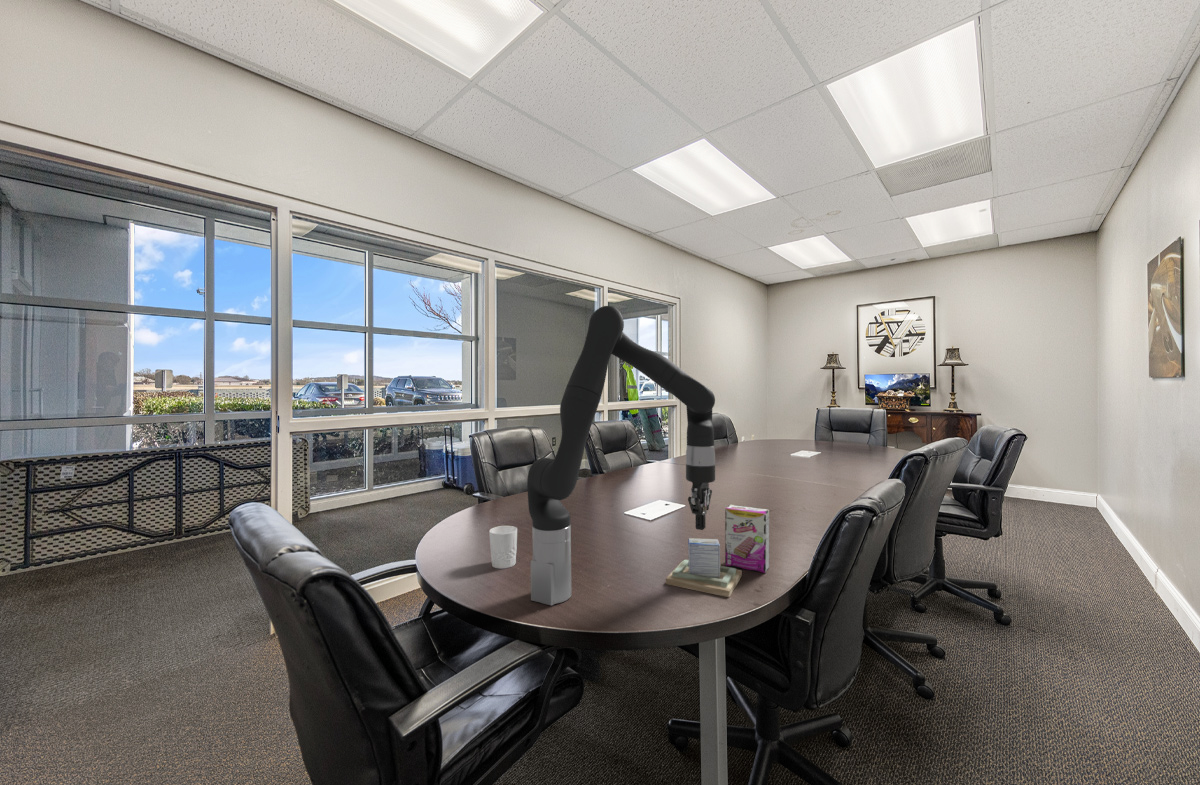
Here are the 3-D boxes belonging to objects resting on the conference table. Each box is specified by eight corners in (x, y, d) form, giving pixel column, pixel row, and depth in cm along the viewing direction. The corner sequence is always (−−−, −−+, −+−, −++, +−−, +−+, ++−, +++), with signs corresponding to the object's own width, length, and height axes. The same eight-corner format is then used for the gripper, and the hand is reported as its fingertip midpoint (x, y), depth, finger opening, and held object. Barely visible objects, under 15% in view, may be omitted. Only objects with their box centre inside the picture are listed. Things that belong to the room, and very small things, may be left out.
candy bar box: (724, 566, 128) (724, 508, 128) (729, 560, 133) (728, 504, 133) (766, 574, 123) (765, 513, 123) (769, 567, 127) (769, 508, 127)
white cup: (484, 564, 132) (484, 529, 132) (507, 557, 137) (507, 523, 137) (499, 572, 126) (498, 536, 126) (523, 564, 132) (522, 529, 132)
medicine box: (718, 571, 121) (718, 538, 121) (720, 578, 117) (720, 544, 116) (688, 570, 122) (688, 537, 122) (689, 576, 118) (688, 543, 118)
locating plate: (729, 597, 109) (729, 586, 109) (665, 584, 117) (665, 574, 117) (741, 576, 122) (741, 566, 122) (683, 565, 129) (683, 556, 129)
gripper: (706, 467, 112) (706, 538, 112) (721, 460, 124) (721, 524, 124) (677, 465, 116) (677, 533, 116) (694, 458, 127) (694, 520, 127)
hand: (700, 528), depth 120 cm, fingers closed
